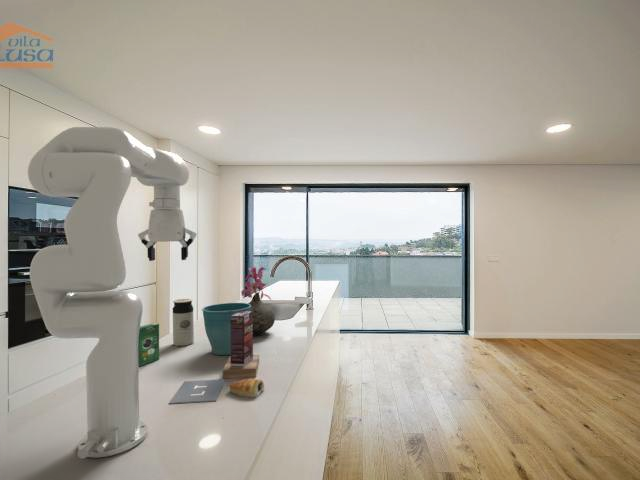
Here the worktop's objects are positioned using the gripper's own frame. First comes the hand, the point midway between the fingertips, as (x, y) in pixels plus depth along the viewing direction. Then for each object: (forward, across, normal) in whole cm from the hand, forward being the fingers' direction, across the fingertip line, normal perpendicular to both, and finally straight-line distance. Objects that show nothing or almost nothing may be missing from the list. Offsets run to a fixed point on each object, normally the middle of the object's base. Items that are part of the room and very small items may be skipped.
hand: (168, 260), depth 110 cm
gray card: (+36, +12, -13) cm, 40 cm away
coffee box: (+36, -12, +14) cm, 41 cm away
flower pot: (+36, +14, +23) cm, 45 cm away
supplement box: (+34, +22, +2) cm, 41 cm away
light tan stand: (+36, +22, +2) cm, 42 cm away
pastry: (+37, +26, -16) cm, 48 cm away
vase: (+36, +23, +47) cm, 64 cm away
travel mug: (+36, -6, +36) cm, 52 cm away
